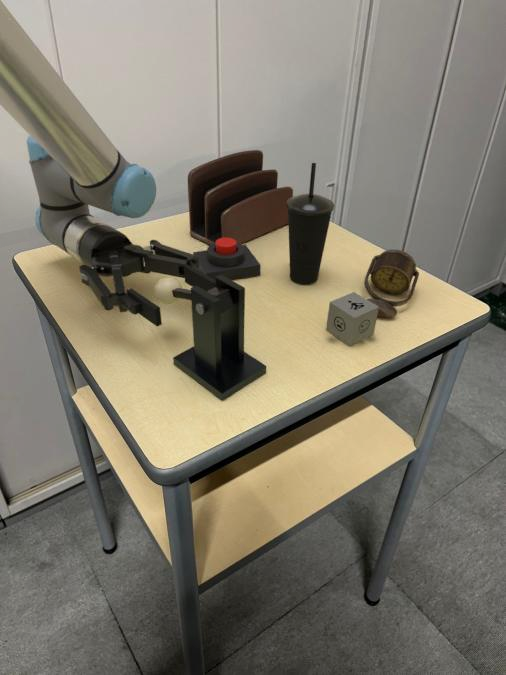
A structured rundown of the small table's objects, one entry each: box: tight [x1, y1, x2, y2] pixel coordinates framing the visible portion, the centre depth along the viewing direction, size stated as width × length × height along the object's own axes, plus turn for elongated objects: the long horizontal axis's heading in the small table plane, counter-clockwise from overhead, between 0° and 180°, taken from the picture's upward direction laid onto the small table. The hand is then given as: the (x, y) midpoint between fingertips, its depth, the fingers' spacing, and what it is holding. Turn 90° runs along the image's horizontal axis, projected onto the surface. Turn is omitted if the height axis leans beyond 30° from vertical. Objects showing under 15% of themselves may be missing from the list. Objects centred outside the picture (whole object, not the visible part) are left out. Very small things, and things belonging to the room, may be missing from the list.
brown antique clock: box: [363, 249, 420, 318], centre depth 84 cm, size 7×13×10 cm
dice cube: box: [325, 291, 379, 347], centre depth 76 cm, size 5×5×5 cm
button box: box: [192, 242, 261, 281], centre depth 91 cm, size 10×8×4 cm
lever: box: [154, 276, 234, 313], centre depth 68 cm, size 14×4×4 cm, turn 44°
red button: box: [216, 238, 236, 255], centre depth 90 cm, size 4×4×2 cm
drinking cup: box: [286, 162, 335, 286], centre depth 85 cm, size 8×8×20 cm
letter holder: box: [187, 149, 294, 246], centre depth 102 cm, size 10×20×14 cm, turn 135°
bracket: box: [172, 275, 267, 401], centre depth 67 cm, size 10×8×13 cm
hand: (188, 303), depth 70 cm, fingers open, 9 cm apart
